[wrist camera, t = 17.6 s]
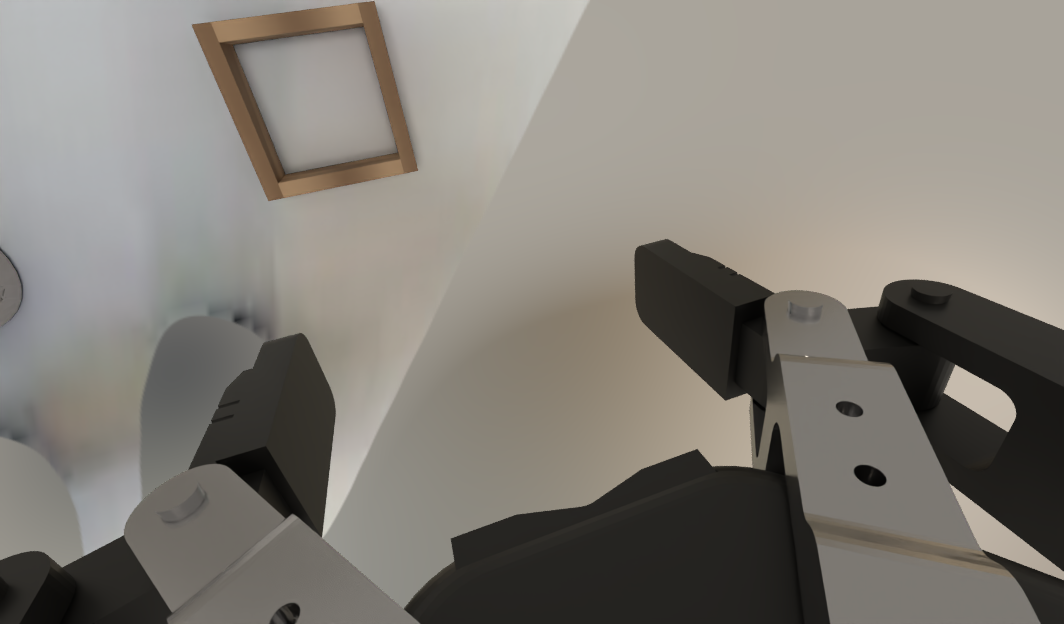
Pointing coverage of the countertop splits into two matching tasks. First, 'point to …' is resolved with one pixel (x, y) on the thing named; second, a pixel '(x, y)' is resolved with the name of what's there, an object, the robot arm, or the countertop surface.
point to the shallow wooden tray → (248, 117)
